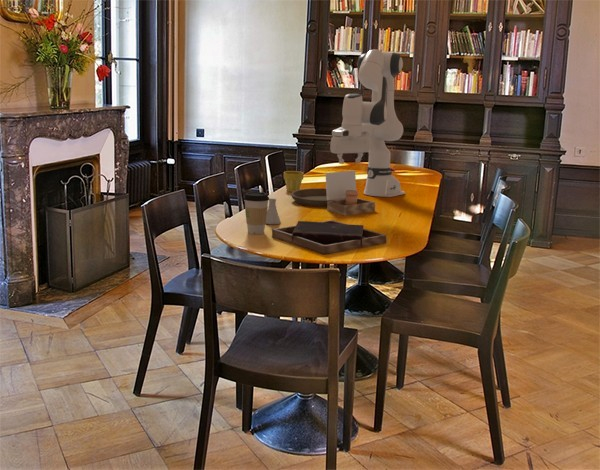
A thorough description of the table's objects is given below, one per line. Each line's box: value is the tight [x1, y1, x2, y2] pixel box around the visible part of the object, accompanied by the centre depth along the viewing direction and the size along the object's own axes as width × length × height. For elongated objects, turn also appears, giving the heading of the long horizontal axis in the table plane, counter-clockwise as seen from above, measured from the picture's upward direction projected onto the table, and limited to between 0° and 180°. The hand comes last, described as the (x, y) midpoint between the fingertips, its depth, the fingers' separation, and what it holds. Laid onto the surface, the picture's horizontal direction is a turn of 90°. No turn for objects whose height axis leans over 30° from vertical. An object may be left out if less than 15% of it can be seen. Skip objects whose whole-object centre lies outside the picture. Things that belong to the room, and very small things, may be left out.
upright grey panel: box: [325, 170, 357, 200], centre depth 302 cm, size 18×12×1 cm
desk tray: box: [271, 219, 388, 256], centre depth 247 cm, size 30×30×3 cm
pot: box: [345, 189, 359, 206], centre depth 298 cm, size 6×6×9 cm
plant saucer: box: [290, 187, 346, 208], centre depth 320 cm, size 31×31×5 cm
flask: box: [265, 198, 282, 226], centre depth 271 cm, size 7×7×10 cm
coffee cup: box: [242, 191, 270, 235], centre depth 254 cm, size 10×10×15 cm
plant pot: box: [283, 170, 304, 193], centre depth 347 cm, size 10×10×10 cm
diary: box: [292, 220, 365, 247], centre depth 247 cm, size 19×25×5 cm
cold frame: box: [326, 197, 376, 216], centre depth 299 cm, size 18×15×12 cm
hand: (349, 163), depth 295 cm, fingers open, 8 cm apart
